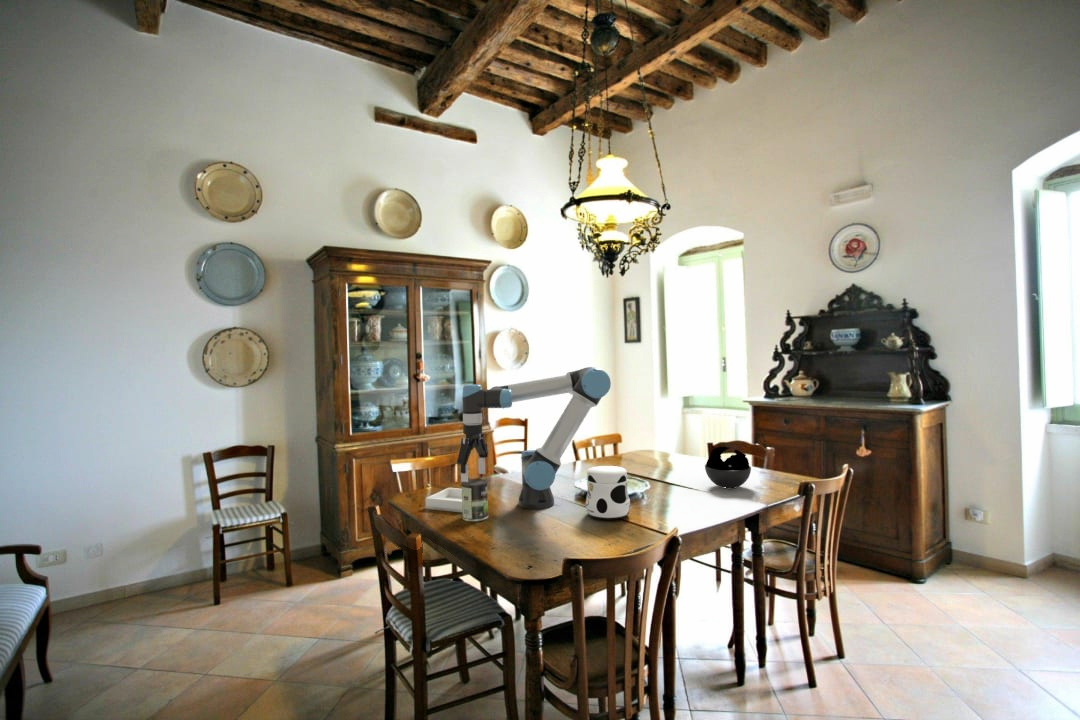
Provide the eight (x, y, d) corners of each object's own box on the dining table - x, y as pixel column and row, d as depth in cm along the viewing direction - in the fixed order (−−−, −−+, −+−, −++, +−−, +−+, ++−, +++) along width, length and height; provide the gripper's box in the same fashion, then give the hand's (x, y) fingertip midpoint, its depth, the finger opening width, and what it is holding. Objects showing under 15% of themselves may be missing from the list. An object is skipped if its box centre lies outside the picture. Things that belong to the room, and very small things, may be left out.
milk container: (578, 513, 214) (577, 468, 214) (615, 507, 221) (614, 463, 221) (599, 525, 199) (598, 477, 198) (639, 518, 205) (638, 471, 205)
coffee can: (491, 514, 216) (490, 479, 216) (483, 522, 206) (482, 485, 206) (467, 513, 218) (466, 478, 218) (458, 521, 208) (457, 484, 208)
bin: (484, 500, 236) (484, 490, 236) (463, 512, 219) (462, 501, 219) (449, 497, 243) (448, 487, 242) (425, 508, 226) (425, 498, 226)
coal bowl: (702, 482, 258) (701, 443, 258) (745, 482, 255) (744, 443, 255) (709, 493, 238) (708, 451, 238) (756, 494, 235) (755, 451, 235)
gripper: (479, 419, 225) (480, 470, 225) (447, 427, 202) (448, 484, 202) (495, 420, 222) (496, 471, 222) (464, 428, 199) (465, 485, 199)
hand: (473, 477), depth 212 cm, fingers open, 13 cm apart
